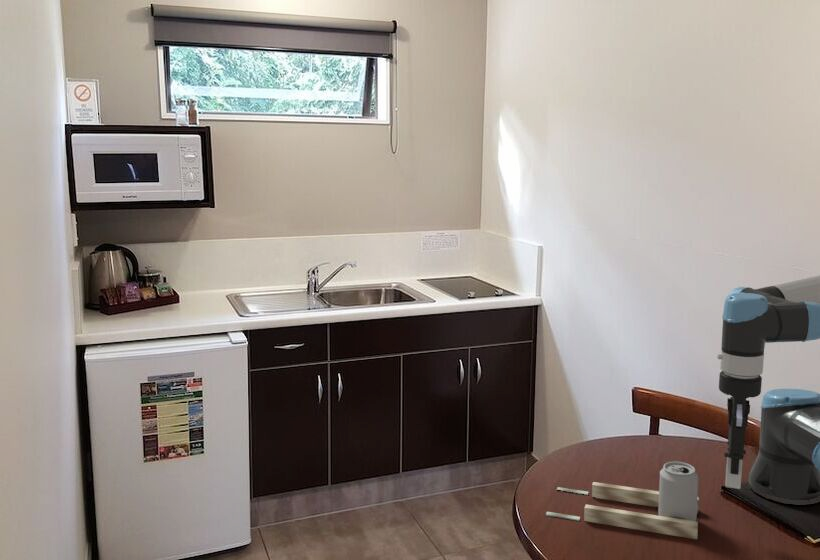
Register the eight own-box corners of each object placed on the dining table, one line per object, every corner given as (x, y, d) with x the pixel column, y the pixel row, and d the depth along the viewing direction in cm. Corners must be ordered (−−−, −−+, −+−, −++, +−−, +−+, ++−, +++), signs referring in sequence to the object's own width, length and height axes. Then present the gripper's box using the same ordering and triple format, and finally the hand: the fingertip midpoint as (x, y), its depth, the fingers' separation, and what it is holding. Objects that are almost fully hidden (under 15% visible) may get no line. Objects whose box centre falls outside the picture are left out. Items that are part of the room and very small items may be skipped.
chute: (698, 509, 156) (698, 496, 155) (697, 540, 144) (697, 526, 143) (557, 488, 167) (557, 476, 166) (545, 515, 155) (545, 502, 154)
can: (699, 531, 147) (702, 476, 145) (660, 528, 148) (662, 473, 146) (692, 513, 154) (695, 460, 152) (655, 510, 156) (657, 458, 153)
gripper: (719, 362, 149) (712, 470, 153) (720, 380, 137) (712, 497, 141) (759, 365, 146) (751, 475, 150) (764, 385, 134) (755, 504, 138)
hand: (732, 486), depth 146 cm, fingers closed
